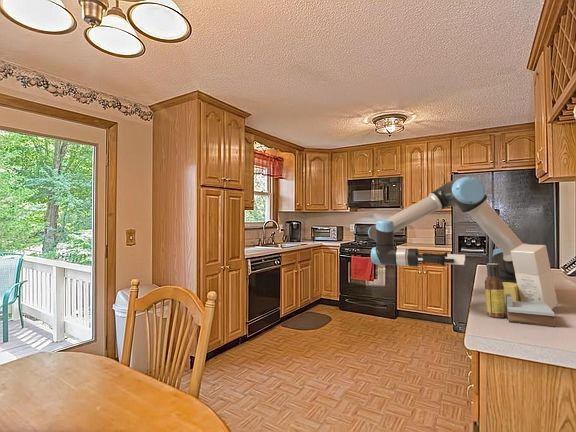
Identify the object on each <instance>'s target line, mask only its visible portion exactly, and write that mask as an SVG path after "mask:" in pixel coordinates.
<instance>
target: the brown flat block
mask: <svg viewBox="0 0 576 432" xmlns="http://www.w3.org/2000/svg"><path fill="white" fill-rule="evenodd" d="M505 309H506V312H505V317H506V318H508V319H507V321H509V322H508V323H510V322H511V324H519V323H520V324H522V325H530V326H539V327H540V326H541V327H549V328H556V320H555V316H547V315H536V314H526V313H515V312H508V309H507V307H506V304H505ZM520 324H519V325H520Z"/></svg>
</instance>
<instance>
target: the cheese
mask: <svg viewBox="0 0 576 432" xmlns="http://www.w3.org/2000/svg"><path fill="white" fill-rule="evenodd" d="M502 283H503V286H504V296H505V294H510V295H511V297H512V301H519V302H521V299H520V295H519V290H518V285H517V283H510V282H502ZM505 300H506V296H505Z"/></svg>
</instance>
